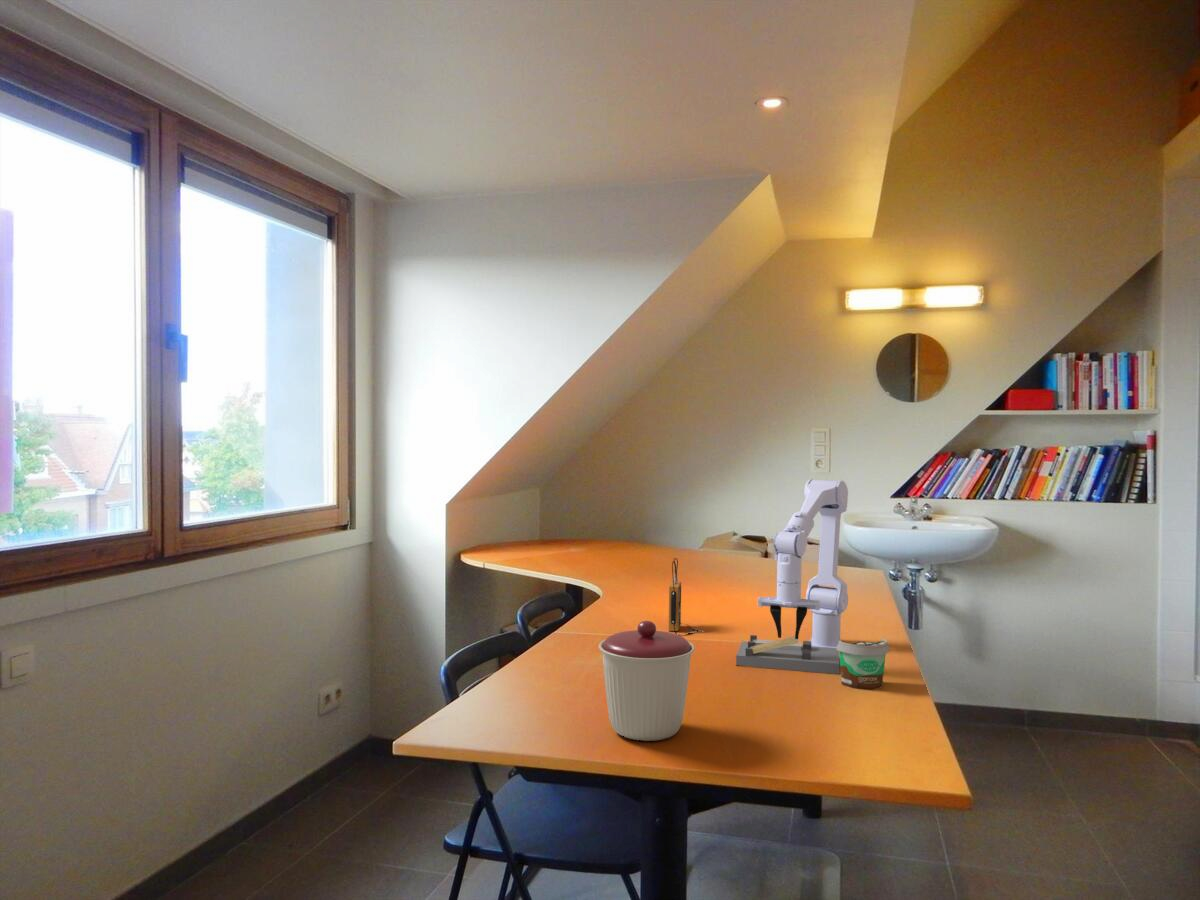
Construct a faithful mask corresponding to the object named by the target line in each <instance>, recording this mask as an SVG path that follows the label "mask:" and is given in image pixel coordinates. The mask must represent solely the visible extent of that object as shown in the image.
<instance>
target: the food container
mask: <svg viewBox="0 0 1200 900" xmlns="http://www.w3.org/2000/svg"><path fill="white" fill-rule="evenodd" d="M841 641H842V640H841ZM841 641H839V644H837V649H836V650H838V651H839V670H840V677H841V678H840V679H841V681H840V682H841V685H842V686H844V687H848V688H850V689H857V690H867V691H870V690H872V691H873V690H877V689H880V688H882V686H883V682H884V681H883V680H884V672H885V671H884V670H885V664H886V656H887V655H886V654H888V653H889V652H890V648H889V644H888V641H887V639H886V638H884V637H882V638H881V641H873V642H871V641H857V642H853V643H848V642H843V641H842V642H841Z"/></svg>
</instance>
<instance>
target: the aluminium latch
mask: <svg viewBox="0 0 1200 900" xmlns="http://www.w3.org/2000/svg"><path fill="white" fill-rule="evenodd" d="M753 641H754V642H755V646H756V645H760V644H764V643H768V642H773V641H774V640H769V639H758V638H757V639H753ZM802 646H803V642H798V643H797V644H792V645H788V646H784V647H780V648H777V649H788V650H801V647H802Z"/></svg>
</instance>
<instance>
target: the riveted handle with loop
mask: <svg viewBox="0 0 1200 900" xmlns="http://www.w3.org/2000/svg"><path fill="white" fill-rule="evenodd" d="M671 564H672V565H671V571H672V572H671V574H672V581H671V583H670V584H669V585H668V632H674V631H678V630H680V628H681V626H682V624H681V623H682V621H681V619H682V581H678V566H679V560H678V558H677V557H676V558H673V561H671ZM690 628H692V629H691V630H693V629H695V630H694V631H690V632H687V633H686V634H688V633H693V634H694V632H695V633H697V631H696V630H698V632H701V631H702V632H701V633H704V632H705V631H703V630H701V629H699V628H695V627H690V626H689V628H688V629H690ZM678 632H679V631H678ZM674 634H676V635H677V634H678V633H677V632H674Z"/></svg>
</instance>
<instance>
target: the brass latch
mask: <svg viewBox="0 0 1200 900" xmlns="http://www.w3.org/2000/svg"><path fill="white" fill-rule="evenodd" d="M772 641H773V642H768V643H764V644H760V645H756V646H752V647H749V648H753V654H754V653H759V652H763V651H767V650H771V649H776V648H780V647H784V646H788V645H792V644H797V643H799V638H798V639H795V635H794V636H791V637H787V638H786V637H785V638H782V639H781V638H780V639H777V640H772Z"/></svg>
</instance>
